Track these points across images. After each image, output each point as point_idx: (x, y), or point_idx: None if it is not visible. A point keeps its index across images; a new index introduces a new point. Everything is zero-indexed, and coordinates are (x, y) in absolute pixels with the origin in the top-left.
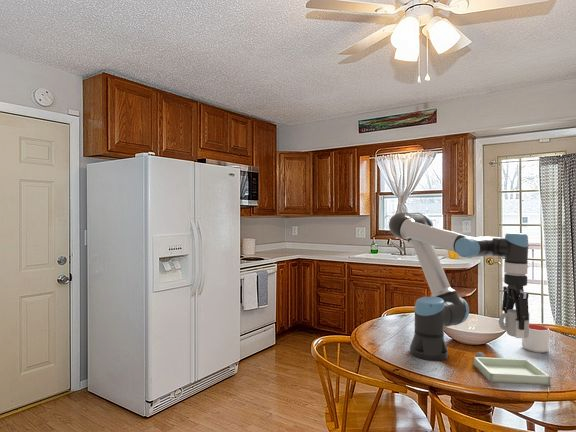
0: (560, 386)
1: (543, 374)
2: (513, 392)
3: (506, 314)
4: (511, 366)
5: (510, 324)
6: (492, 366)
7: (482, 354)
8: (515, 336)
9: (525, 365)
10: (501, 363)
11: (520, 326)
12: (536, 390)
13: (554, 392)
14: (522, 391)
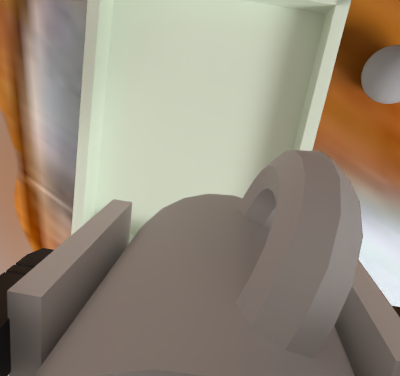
0: None
1: None
2: (4, 18)
3: (256, 297)
4: None
5: (177, 237)
6: (278, 89)
7: (381, 78)
8: (129, 204)
9: None
10: None
11: (10, 268)
12: (35, 139)
13: (24, 199)
14: (19, 69)
